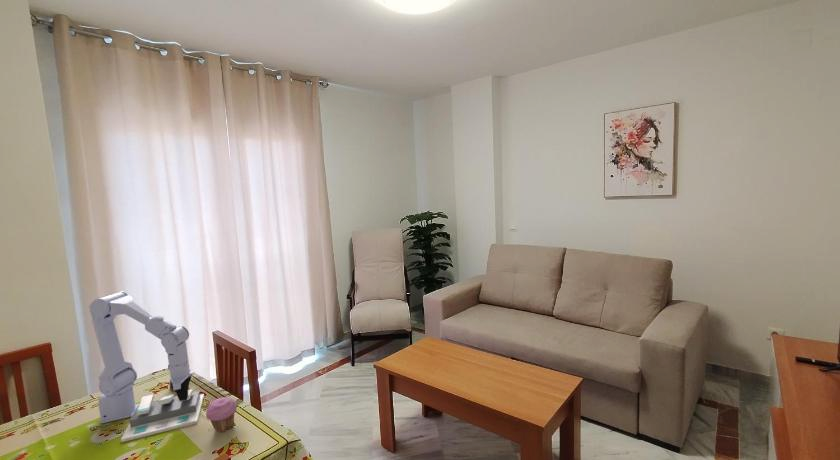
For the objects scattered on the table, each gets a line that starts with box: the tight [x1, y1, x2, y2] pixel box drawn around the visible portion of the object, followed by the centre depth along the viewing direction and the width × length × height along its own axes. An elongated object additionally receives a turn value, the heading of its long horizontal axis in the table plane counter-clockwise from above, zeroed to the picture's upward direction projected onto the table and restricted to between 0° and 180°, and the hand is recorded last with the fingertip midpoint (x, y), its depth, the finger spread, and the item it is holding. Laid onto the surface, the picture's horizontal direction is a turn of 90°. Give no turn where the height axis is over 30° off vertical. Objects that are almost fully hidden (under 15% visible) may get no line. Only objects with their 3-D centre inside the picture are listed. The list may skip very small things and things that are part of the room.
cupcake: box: [205, 396, 238, 433], centre depth 123 cm, size 9×9×10 cm
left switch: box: [136, 394, 155, 416], centre depth 129 cm, size 3×8×2 cm, turn 24°
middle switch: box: [158, 394, 175, 406], centre depth 132 cm, size 3×8×2 cm, turn 23°
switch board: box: [120, 390, 205, 443], centre depth 130 cm, size 21×18×4 cm
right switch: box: [178, 388, 194, 402], centre depth 134 cm, size 3×8×2 cm, turn 24°
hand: (183, 399), depth 131 cm, fingers closed
